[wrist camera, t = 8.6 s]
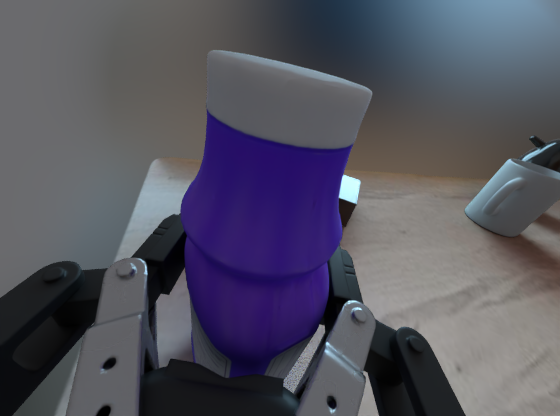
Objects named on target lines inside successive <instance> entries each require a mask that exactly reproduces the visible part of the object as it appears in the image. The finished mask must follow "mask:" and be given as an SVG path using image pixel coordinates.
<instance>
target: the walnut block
mask: <svg viewBox="0 0 560 416" xmlns="http://www.w3.org/2000/svg"><path fill="white" fill-rule="evenodd" d="M359 187H360V180H357V179H354V178H351V177H348V176H345V175H343V178H342V182H341V188H340V193H339V202H338V203H339V207H338V208H339V214H340V219H341V223H342V226H346V225H347V223H348V221H349V219H350V217H351V215H352V213H353V211H354V209H355V207H356V204H357V199H358V193H359Z"/></svg>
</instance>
